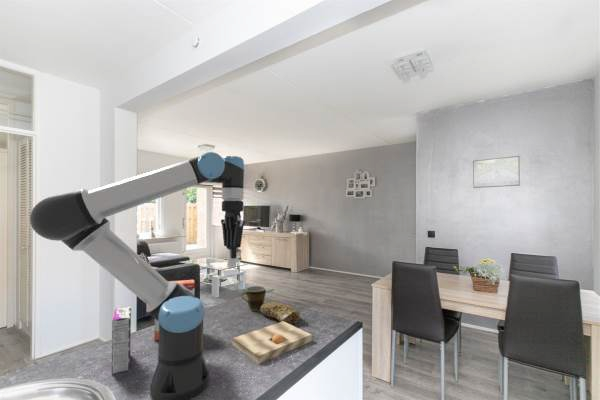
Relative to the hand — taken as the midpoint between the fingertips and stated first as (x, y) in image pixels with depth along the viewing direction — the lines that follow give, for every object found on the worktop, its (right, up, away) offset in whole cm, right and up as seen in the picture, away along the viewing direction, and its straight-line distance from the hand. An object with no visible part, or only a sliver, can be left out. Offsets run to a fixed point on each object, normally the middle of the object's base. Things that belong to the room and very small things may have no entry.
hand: (231, 267), depth 101 cm
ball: (+16, -28, +4) cm, 32 cm away
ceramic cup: (+1, -31, +41) cm, 51 cm away
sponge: (+14, -31, +30) cm, 45 cm away
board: (+14, -30, +6) cm, 33 cm away
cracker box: (-25, -30, +12) cm, 41 cm away
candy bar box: (-33, -29, -9) cm, 45 cm away
